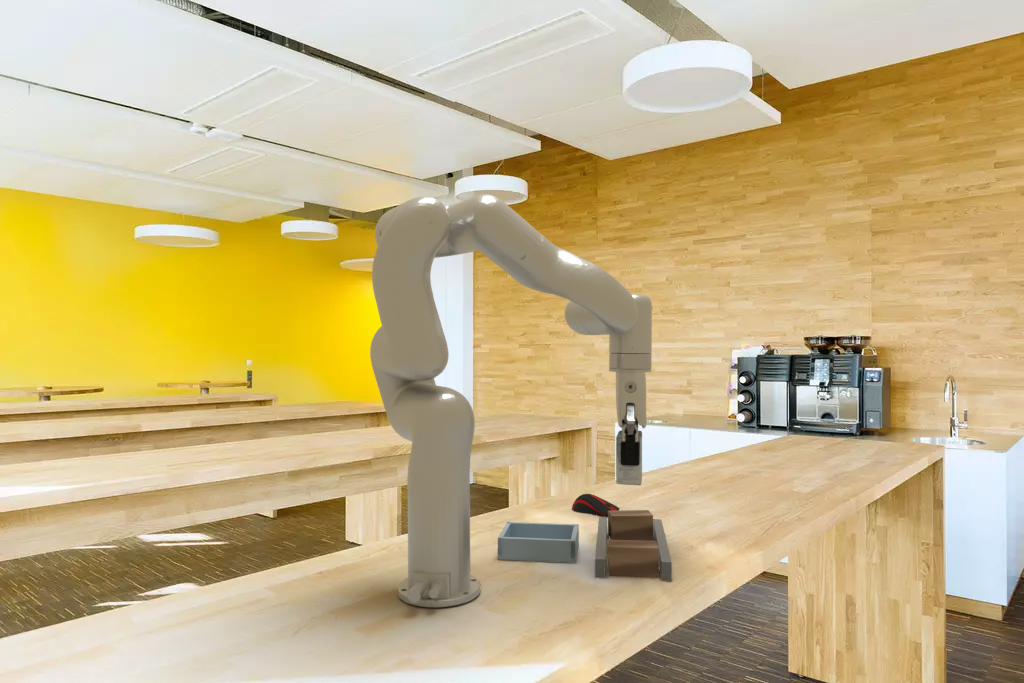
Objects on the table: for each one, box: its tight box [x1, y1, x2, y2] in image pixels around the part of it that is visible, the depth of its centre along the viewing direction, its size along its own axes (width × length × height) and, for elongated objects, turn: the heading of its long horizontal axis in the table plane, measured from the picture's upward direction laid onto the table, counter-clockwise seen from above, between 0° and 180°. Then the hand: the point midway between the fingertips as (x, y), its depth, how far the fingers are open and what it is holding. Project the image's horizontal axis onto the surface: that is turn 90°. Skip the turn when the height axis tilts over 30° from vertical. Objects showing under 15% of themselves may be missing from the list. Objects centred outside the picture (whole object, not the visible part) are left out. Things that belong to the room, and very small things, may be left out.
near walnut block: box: [607, 539, 659, 579], centre depth 114 cm, size 4×8×5 cm, turn 83°
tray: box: [497, 521, 580, 564], centre depth 125 cm, size 11×14×4 cm
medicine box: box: [615, 429, 643, 486], centre depth 123 cm, size 8×4×9 cm, turn 169°
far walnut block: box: [607, 509, 654, 541], centre depth 133 cm, size 4×8×5 cm, turn 92°
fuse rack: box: [594, 516, 673, 582], centre depth 124 cm, size 26×12×3 cm, turn 171°
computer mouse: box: [571, 493, 620, 518], centre depth 154 cm, size 6×11×4 cm, turn 49°
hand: (629, 460), depth 123 cm, fingers closed on medicine box, 8 cm apart
